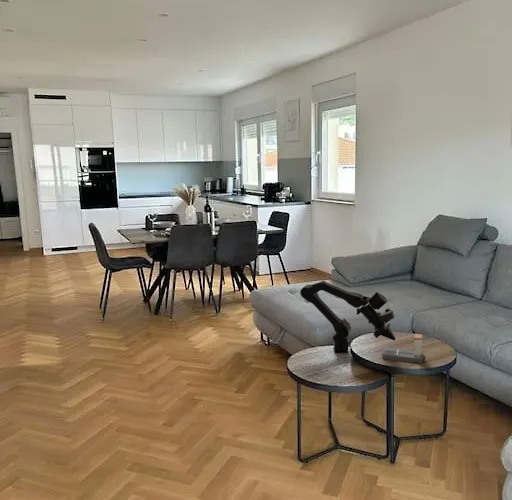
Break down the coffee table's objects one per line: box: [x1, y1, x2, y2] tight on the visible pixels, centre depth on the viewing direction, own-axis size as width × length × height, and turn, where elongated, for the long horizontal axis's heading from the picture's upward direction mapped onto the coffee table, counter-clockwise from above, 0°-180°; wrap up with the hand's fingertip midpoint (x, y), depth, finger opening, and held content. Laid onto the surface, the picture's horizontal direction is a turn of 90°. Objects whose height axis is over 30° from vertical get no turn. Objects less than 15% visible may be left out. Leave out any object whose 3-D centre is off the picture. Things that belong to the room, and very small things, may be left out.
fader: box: [413, 333, 423, 356], centre depth 232 cm, size 3×5×9 cm, turn 158°
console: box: [381, 347, 425, 364], centre depth 236 cm, size 18×10×2 cm, turn 68°
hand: (394, 339), depth 236 cm, fingers closed
